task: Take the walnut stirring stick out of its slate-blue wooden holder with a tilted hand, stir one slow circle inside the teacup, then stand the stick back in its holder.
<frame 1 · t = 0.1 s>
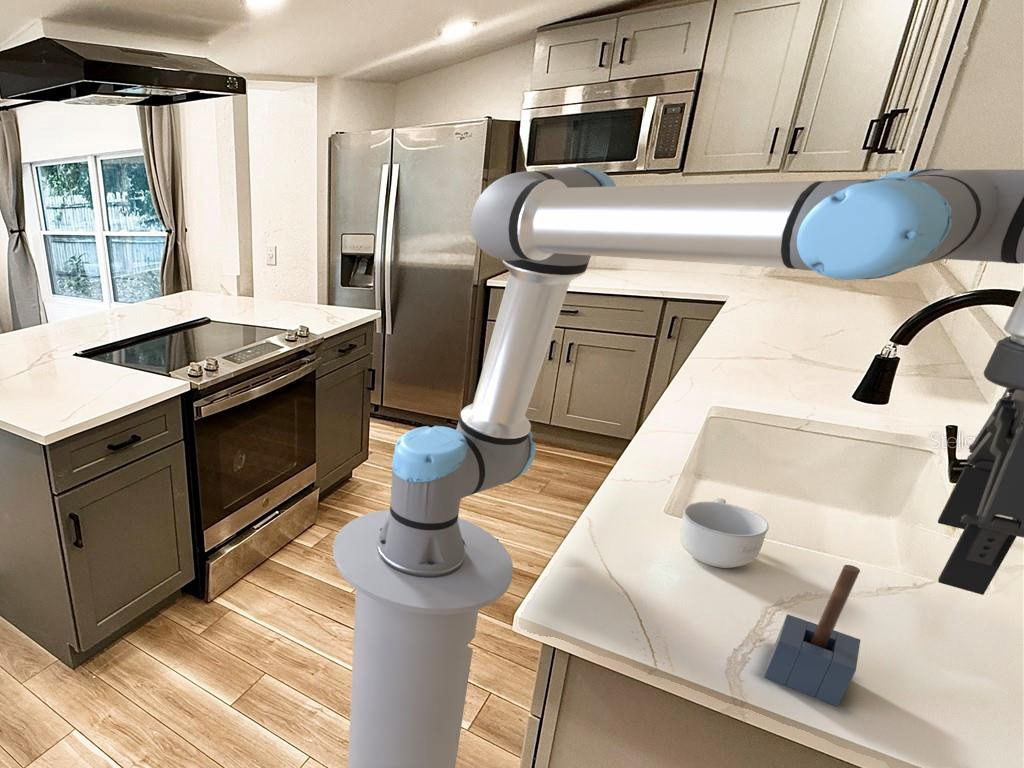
hand: (958, 554, 60), 26 cm above the worktop, tool pointing down, fingers open, 13 cm apart
stand: (803, 676, 79), on the worktop
stick: (826, 624, 75), in the stand
teacup: (713, 553, 103), on the worktop
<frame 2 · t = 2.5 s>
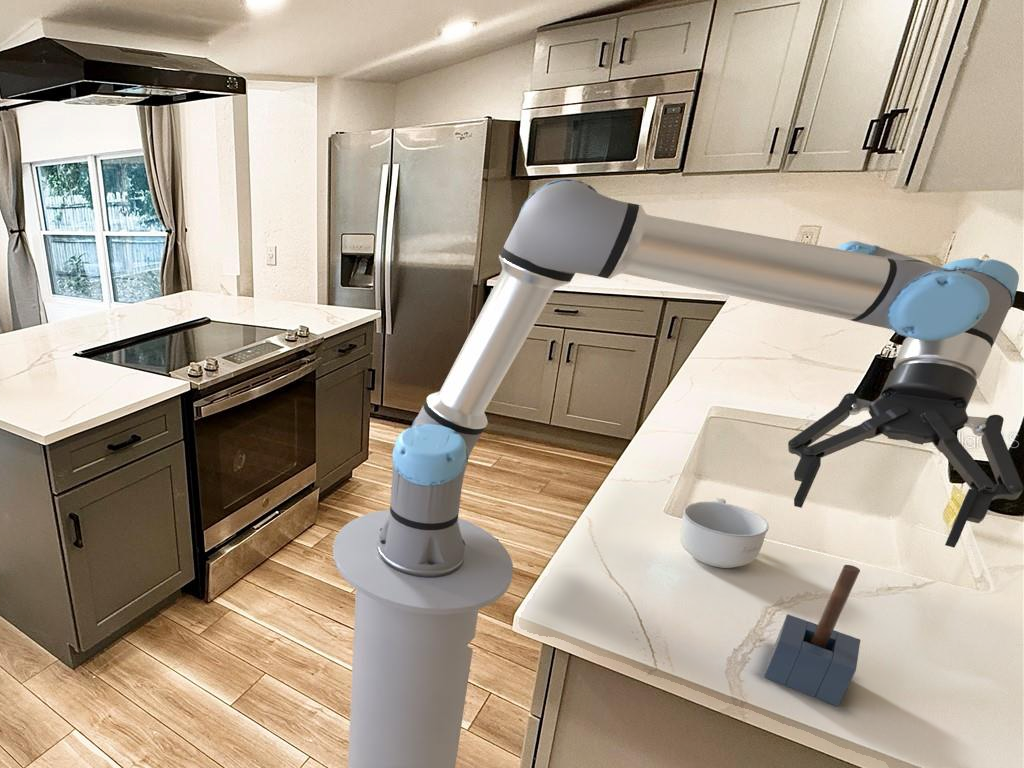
hand: (869, 522, 76), 19 cm above the worktop, tool tilted 40°, fingers open, 13 cm apart
nothing on the worktop moved.
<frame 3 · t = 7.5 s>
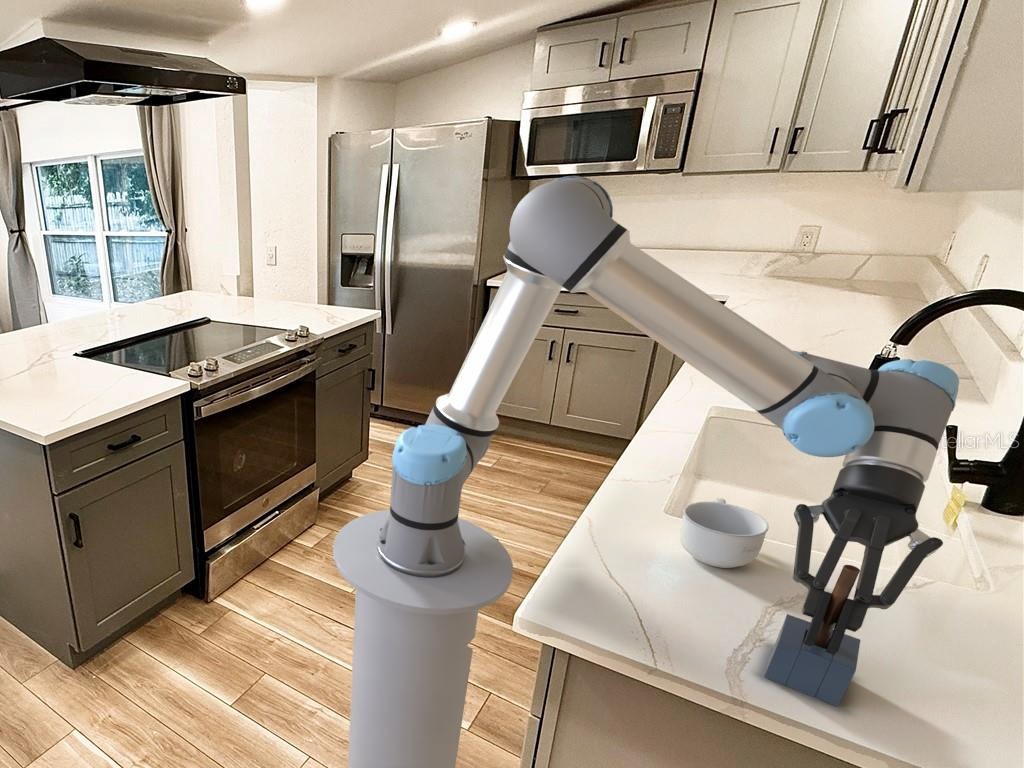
hand: (820, 647, 73), 8 cm above the worktop, tool tilted 45°, fingers closed on stick
stick: (826, 624, 75), in the stand, touching gripper
everything else where it was.
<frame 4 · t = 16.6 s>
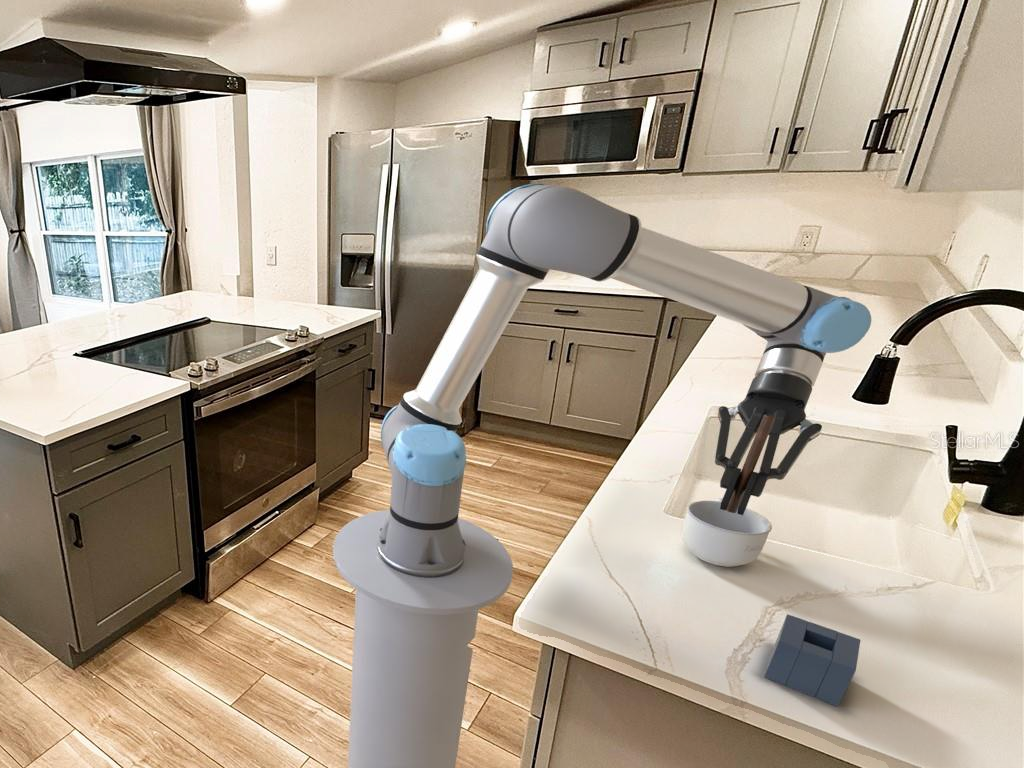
hand: (732, 509, 97), 10 cm above the worktop, tool tilted 45°, fingers closed on stick, 1 cm apart
stick: (749, 465, 96), point 17 cm above the worktop, touching gripper, teacup
teacup: (713, 552, 103), on the worktop, touching stick
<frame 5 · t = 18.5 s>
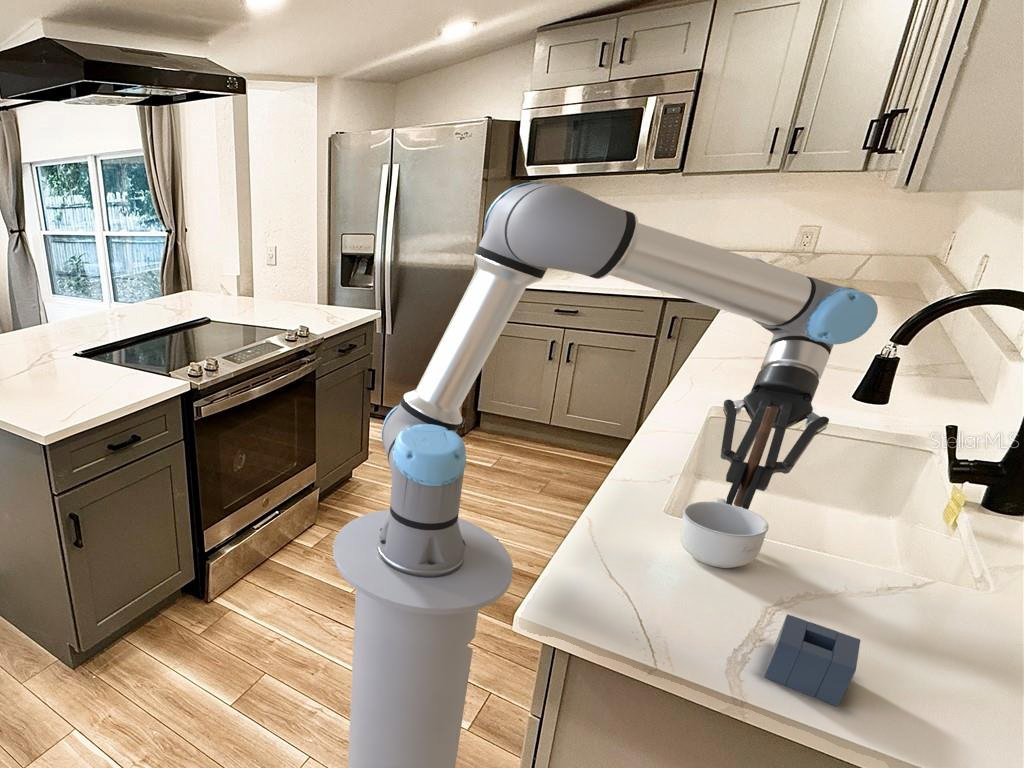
hand: (737, 503, 95), 12 cm above the worktop, tool tilted 45°, fingers closed on stick
stick: (755, 457, 95), point 18 cm above the worktop, touching gripper
teacup: (712, 553, 103), on the worktop
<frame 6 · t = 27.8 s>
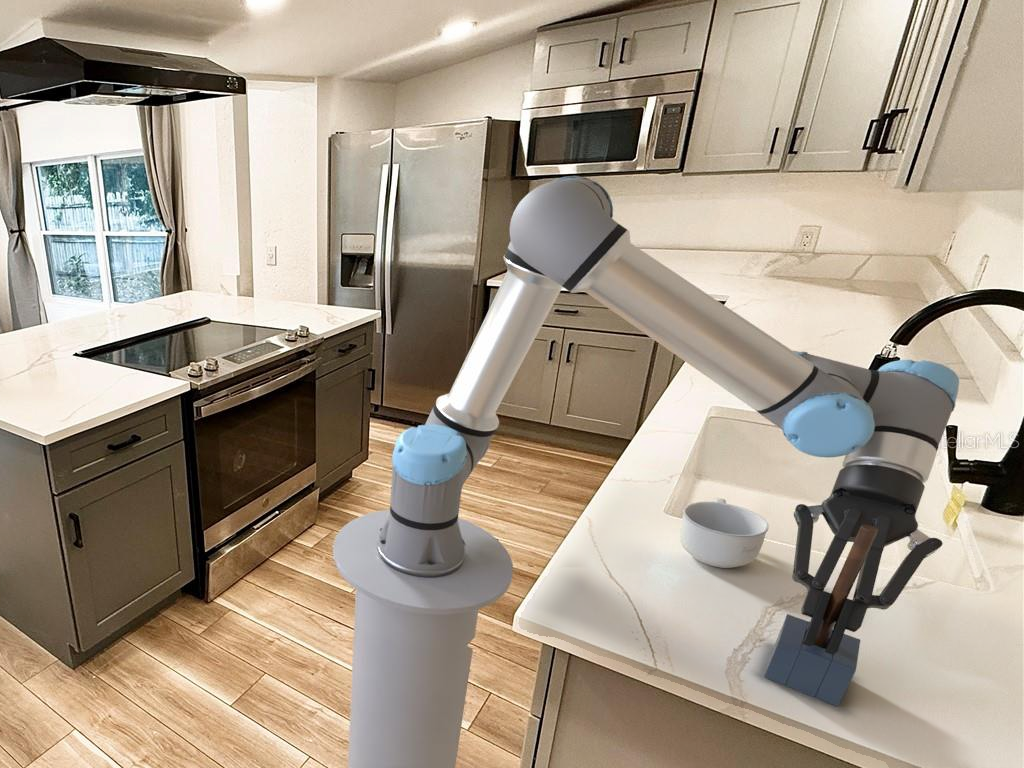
hand: (819, 647, 73), 8 cm above the worktop, tool tilted 45°, fingers closed on stick
stick: (842, 588, 73), point 14 cm above the worktop, touching gripper
everything else where it was.
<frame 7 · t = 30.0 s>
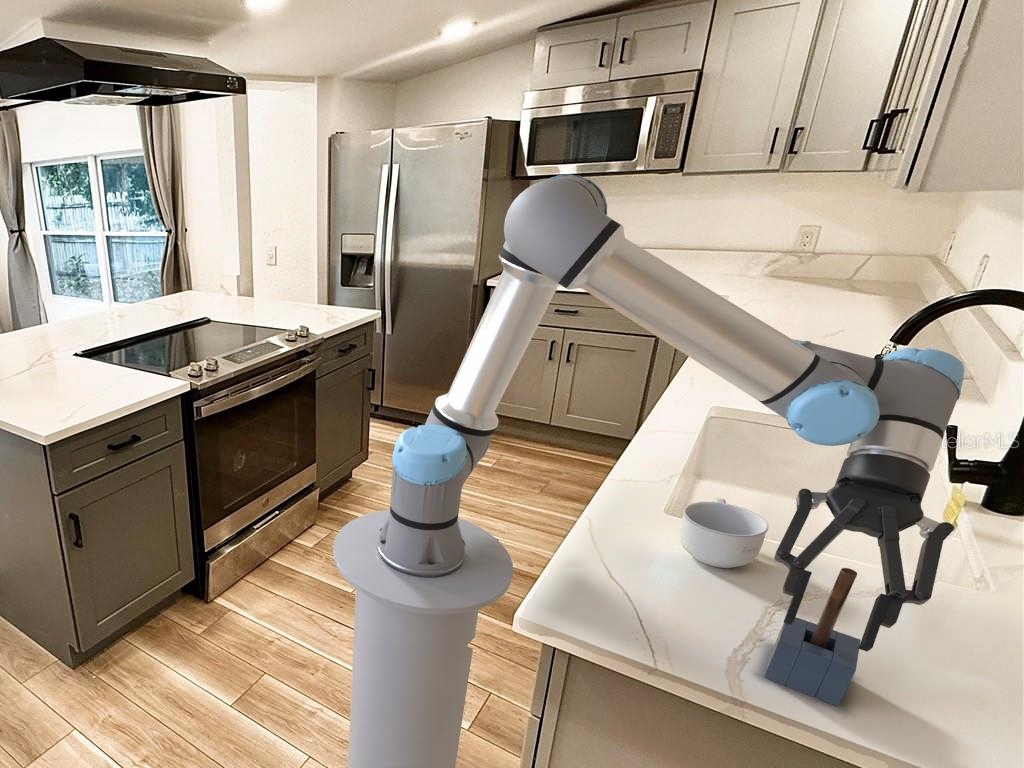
hand: (825, 634, 73), 9 cm above the worktop, tool tilted 45°, fingers open, 6 cm apart
stick: (825, 626, 75), in the stand
everything else where it was.
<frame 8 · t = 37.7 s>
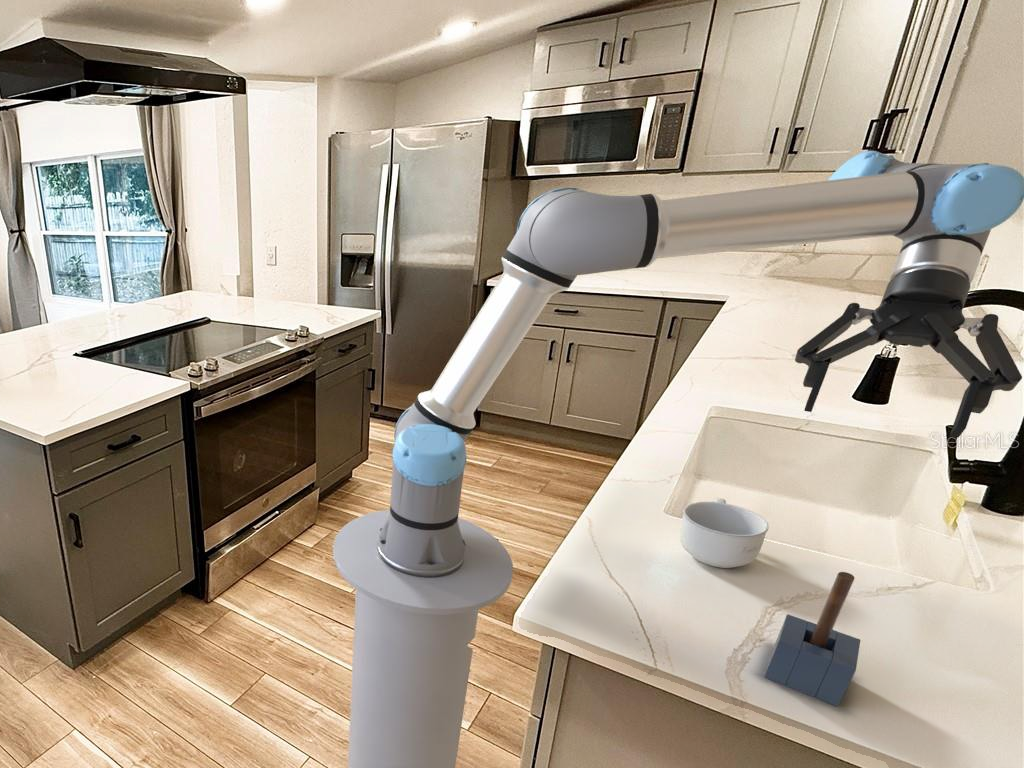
hand: (878, 419, 79), 30 cm above the worktop, tool tilted 45°, fingers open, 13 cm apart
stick: (824, 628, 75), in the stand, tilted 8°
everything else where it was.
at the end: stick 0.1 cm off-centre on the stand, point 8.5 cm above the stand's base; teacup moved 0.2 cm from its start; teacup tilted 0° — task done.
